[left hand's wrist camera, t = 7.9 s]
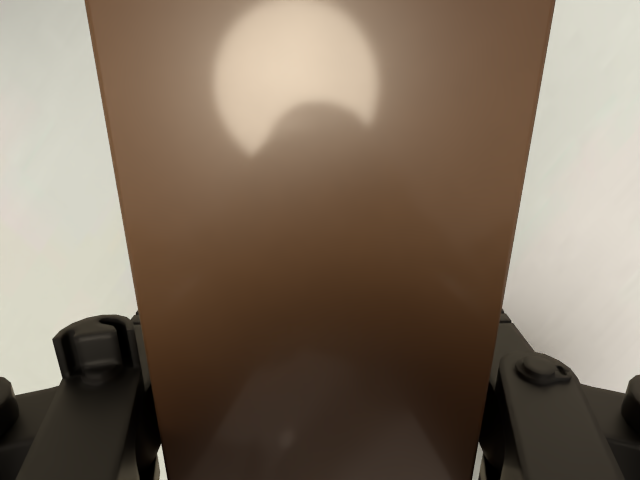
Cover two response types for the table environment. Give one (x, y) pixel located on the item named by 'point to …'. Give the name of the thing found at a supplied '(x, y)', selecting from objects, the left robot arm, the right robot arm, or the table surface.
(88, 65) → the table surface
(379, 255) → the bar
